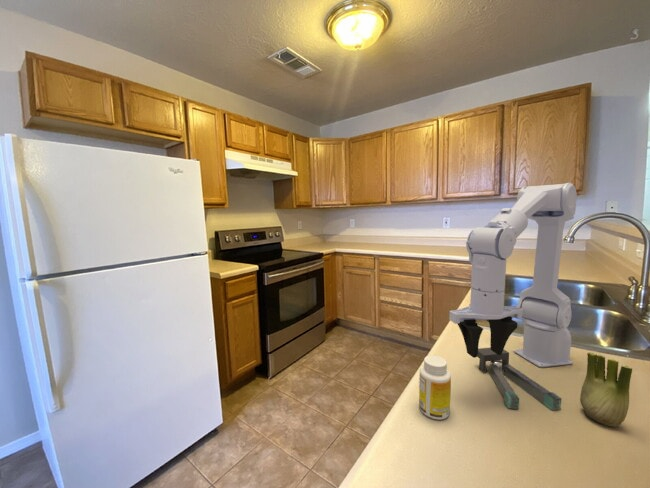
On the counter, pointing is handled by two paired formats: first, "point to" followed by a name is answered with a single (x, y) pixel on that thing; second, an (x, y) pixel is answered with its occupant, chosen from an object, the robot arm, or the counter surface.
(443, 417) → the supplement bottle
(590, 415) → the fennel bulb
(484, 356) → the grey stepped block
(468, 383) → the counter surface
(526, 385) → the tongs base
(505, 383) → the bar
